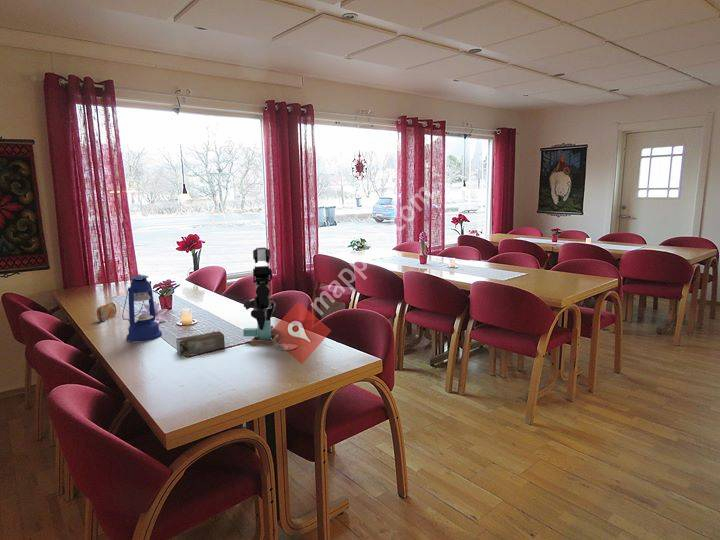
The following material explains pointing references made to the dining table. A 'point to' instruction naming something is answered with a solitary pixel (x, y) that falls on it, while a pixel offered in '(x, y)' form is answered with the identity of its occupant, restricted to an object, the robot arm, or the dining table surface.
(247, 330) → the jug
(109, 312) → the tin
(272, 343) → the holder
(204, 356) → the dining table surface
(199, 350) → the grey brown rectangular block
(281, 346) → the coaster
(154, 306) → the water lily
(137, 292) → the lantern
